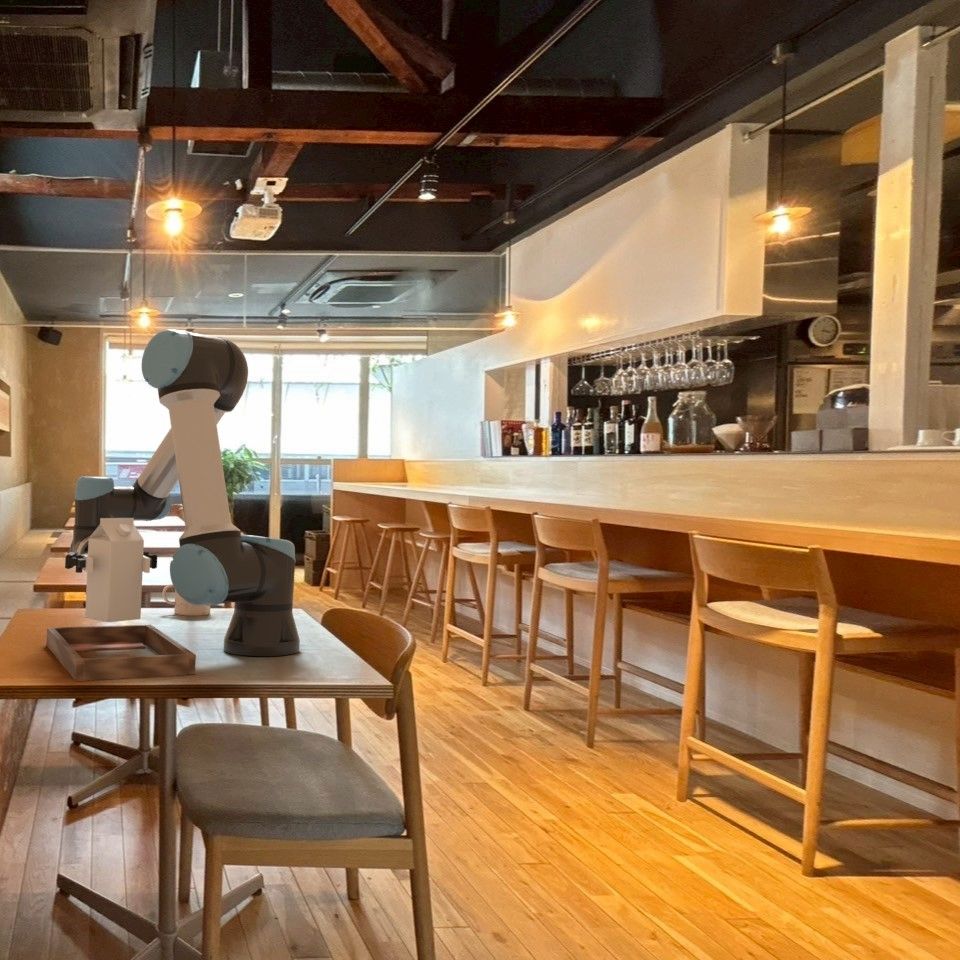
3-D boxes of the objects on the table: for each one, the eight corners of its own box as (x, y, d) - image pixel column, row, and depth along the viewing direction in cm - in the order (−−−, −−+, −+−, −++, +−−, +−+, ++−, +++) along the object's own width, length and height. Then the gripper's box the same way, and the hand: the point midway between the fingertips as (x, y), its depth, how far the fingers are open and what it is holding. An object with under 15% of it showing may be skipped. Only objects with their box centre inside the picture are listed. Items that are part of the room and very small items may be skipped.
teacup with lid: (205, 610, 262) (207, 564, 262) (215, 615, 254) (217, 568, 254) (157, 611, 256) (159, 565, 256) (165, 617, 248) (168, 568, 248)
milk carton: (84, 618, 192) (89, 517, 192) (117, 615, 198) (122, 516, 197) (107, 623, 188) (112, 519, 188) (140, 619, 193) (145, 519, 193)
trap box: (149, 641, 213) (150, 624, 213) (195, 674, 182) (195, 654, 182) (46, 645, 203) (47, 627, 203) (75, 681, 172) (76, 660, 172)
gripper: (154, 572, 214) (179, 585, 194) (39, 573, 203) (54, 586, 183) (155, 536, 214) (181, 545, 194) (41, 535, 203) (56, 544, 183)
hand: (119, 565), depth 189 cm, fingers closed on milk carton, 9 cm apart
